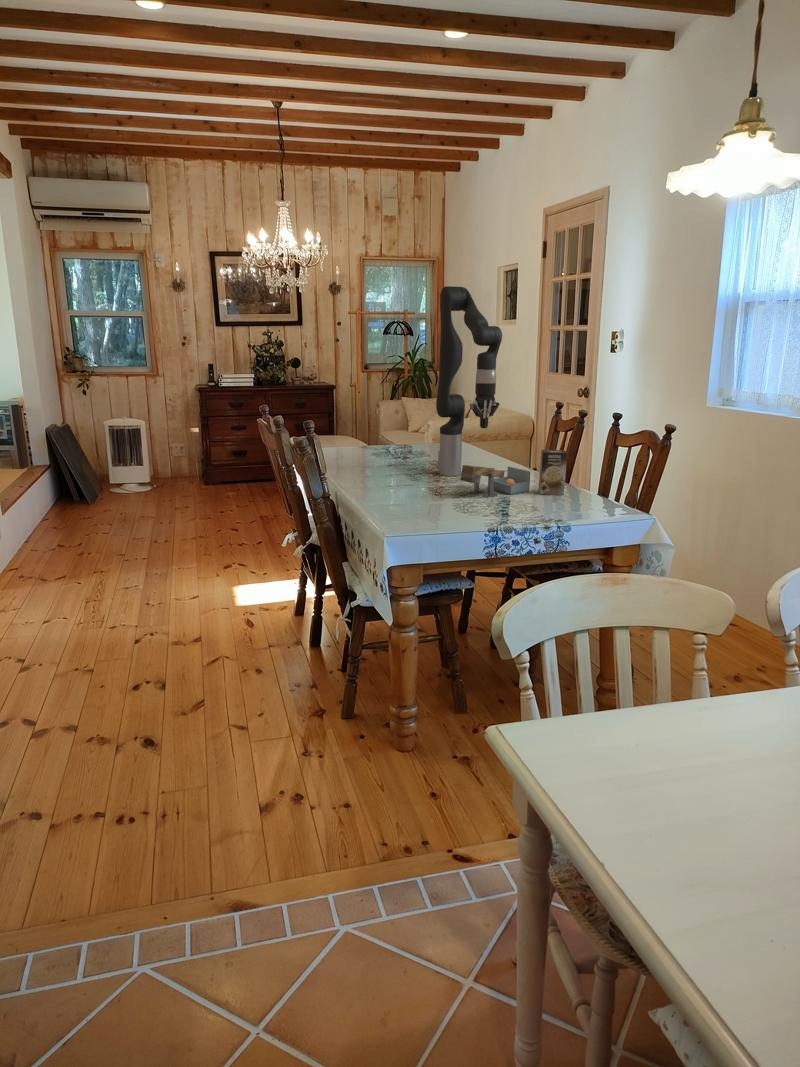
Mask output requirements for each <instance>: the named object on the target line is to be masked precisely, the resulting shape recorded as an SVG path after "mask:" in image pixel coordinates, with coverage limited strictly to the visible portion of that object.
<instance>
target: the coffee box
mask: <svg viewBox="0 0 800 1067" xmlns="http://www.w3.org/2000/svg"><path fill="white" fill-rule="evenodd" d="M567 460H568V452H567V451H566V450H565V449H564V450H563V449H562V450H561V449H541V451H540V463H539V464H540V466H539V478H538V479H539V480H538V495H541V494H546V495H547V496H565V486H566V474H567V473H566V471H567ZM546 495H545V496H546Z"/></svg>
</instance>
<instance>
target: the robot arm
mask: <svg viewBox="0 0 800 1067" xmlns="http://www.w3.org/2000/svg"><path fill="white" fill-rule="evenodd" d="M479 310H480V309H478V307H477V305H476V302H475V300H474V299H473V296H472V294H471V293H470V291H469V290H468V289H467V288H466V287H464V286H447V285H446V286H444V287H442V288H441V290H440V295H439V314H440V316H439V317H440V318H439V319H440V338H439V340H440V341H439V342H440V343H439V360H438V361H439V366H438V368H439V370H438V372H439V373H438V386H437V392H436V400H435V401H436V402H435V403H436V404H435V407H436V408H435V410H436V412H437V415H438V416H439V417H440V418H449V419H448V421H447V422H446V423H445V424H443V425H441V426H440V428H439V450H438V454H437V455H438V456H437V459H438V460H437V473H438V475H440V476H447V477H456V476H457V477H458V476H461V473H462V455H463V454H462V452H463V451H462V450H463V449H462V447H463V440H462V439H463V428H464V424H465V413H466V412H465V411H466V402H465V400H464V397H463V396H462V395H461V394H460V393H459V394H456V393H454V394H453V393H452V394H451V392H450V391H451V386H452V382H453V380H454V378H455V376H457V375H456V374H457V373H458V372H459V369H460V368H461V365H462V362H463V347H464V346H463V343H462V340H461V338H460V336H459V334H458V333H457V331H456V329H455V327H454V326H455V325H454V324H453V319H452V312H460V311H461V312H464V314H463V322H464V324H465V326H466V327H467V329H469V331H470V332H471V336H472V340H473V343H474V344H475V345H477V346H480V347H488V348H487V350H486V351H484V352H480V353H478V354H477V358H476V372H475V388H474V389H475V390H474V394H475V398H474V402H472V403H470V404H469V407H470V409H471V410H472V412H473V414H474V415H475V416H476V418H479V426H480V429H488V427H489V419H490V418H491V417H493V416H494V414H495V413H496V411H497V410H498V408H499V407H500V403H499V402H498V401H496V398H495V395H496V390H497V389H496V386H497V370H496V369H497V358H498V354H499V351H500V350H499V349H500V346H501V344H502V340H503V333H502V329H501V328H500V327H499V326H496V325H489V322H488V320H487V319H486V317H485V316H484V315H483V314H482V313H481V312H480V311H479Z"/></svg>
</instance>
